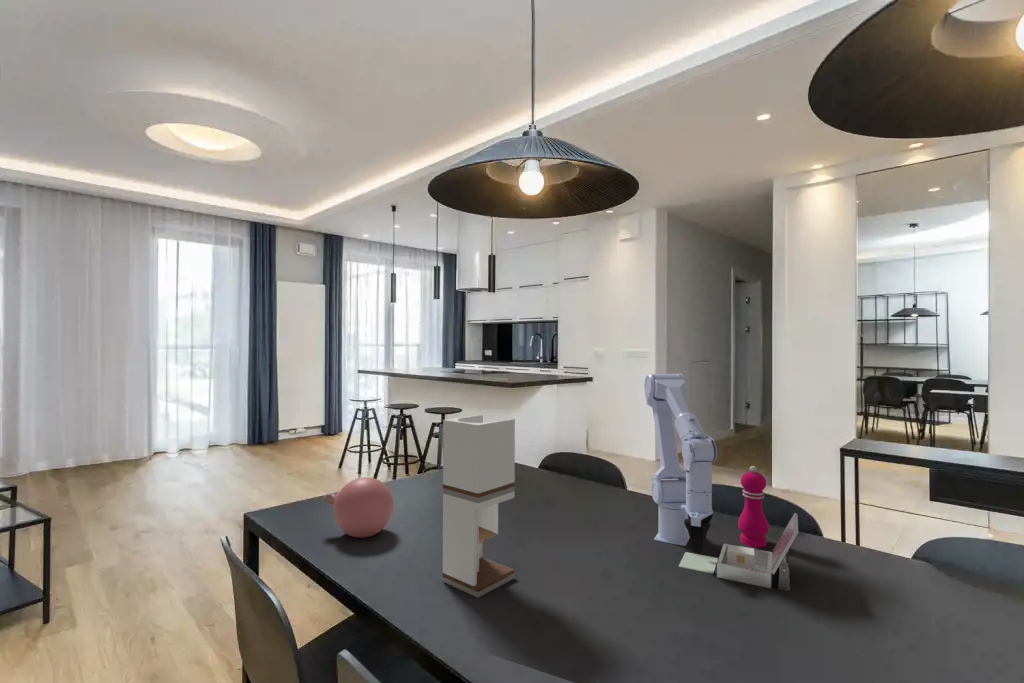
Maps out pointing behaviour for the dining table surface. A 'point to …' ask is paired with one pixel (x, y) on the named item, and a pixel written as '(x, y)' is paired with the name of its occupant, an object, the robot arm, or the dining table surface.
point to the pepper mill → (753, 510)
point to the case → (754, 570)
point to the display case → (475, 499)
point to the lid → (784, 543)
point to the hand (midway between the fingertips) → (698, 547)
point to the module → (740, 556)
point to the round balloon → (362, 507)
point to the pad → (698, 562)
